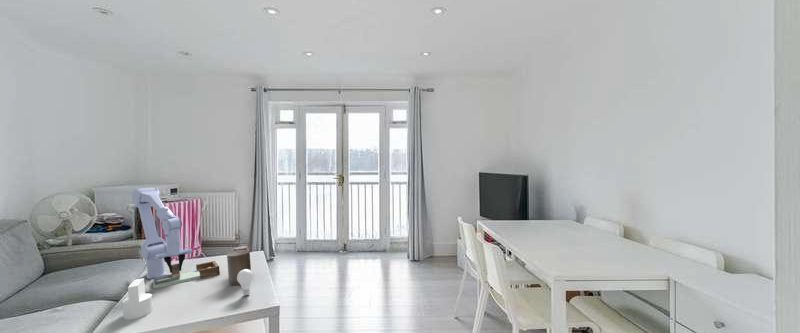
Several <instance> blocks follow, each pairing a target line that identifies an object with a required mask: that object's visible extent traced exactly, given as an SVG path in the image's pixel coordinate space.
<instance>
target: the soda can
mask: <svg viewBox="0 0 800 333" xmlns="http://www.w3.org/2000/svg"><path fill="white" fill-rule="evenodd" d="M237 250H249V251H250V249H249V246H248V245H244V244H243V245H238V246H235V247H234V248H233V251H237Z"/></svg>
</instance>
